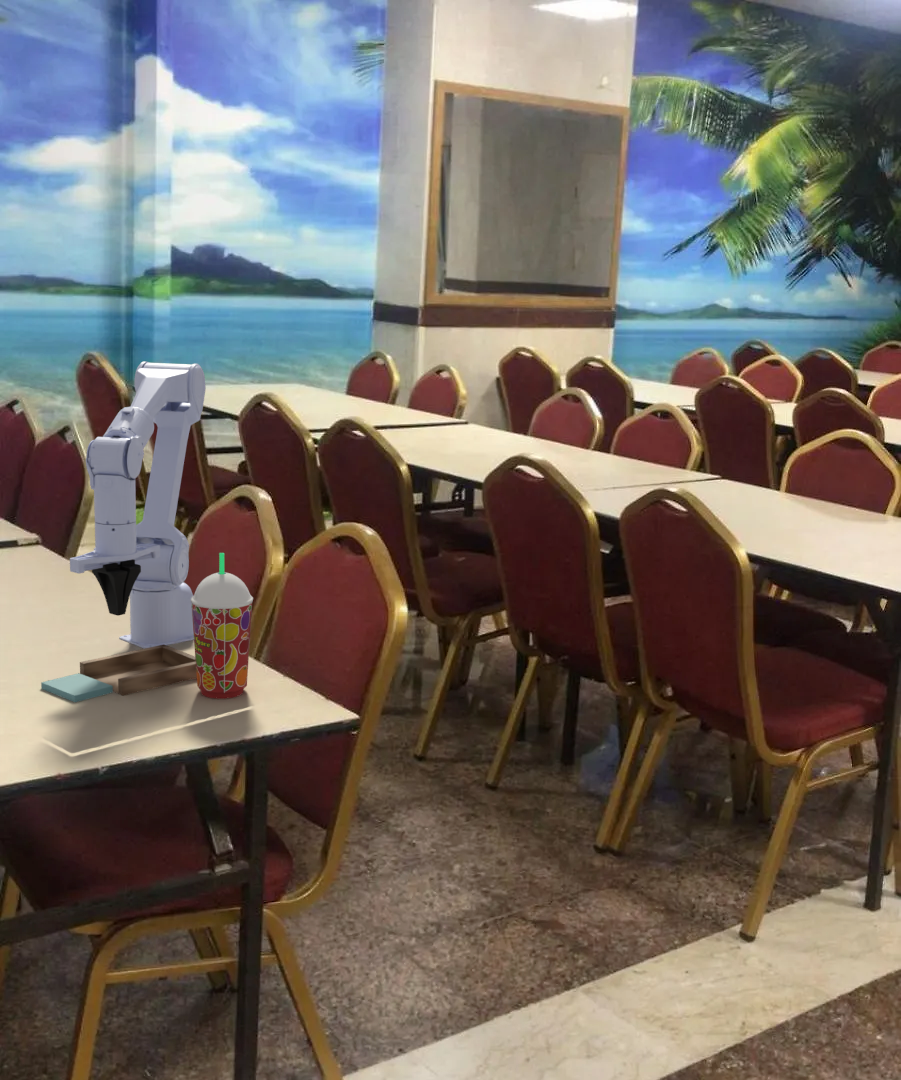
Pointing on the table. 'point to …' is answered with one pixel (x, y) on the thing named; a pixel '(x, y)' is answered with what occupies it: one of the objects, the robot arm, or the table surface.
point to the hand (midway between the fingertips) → (117, 613)
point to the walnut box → (141, 669)
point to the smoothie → (221, 634)
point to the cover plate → (77, 687)
